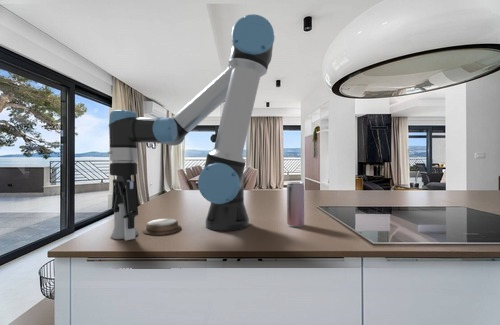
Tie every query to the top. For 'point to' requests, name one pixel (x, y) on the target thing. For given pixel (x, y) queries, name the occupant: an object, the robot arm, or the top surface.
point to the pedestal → (161, 227)
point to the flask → (120, 225)
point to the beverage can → (295, 204)
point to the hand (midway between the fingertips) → (124, 235)
